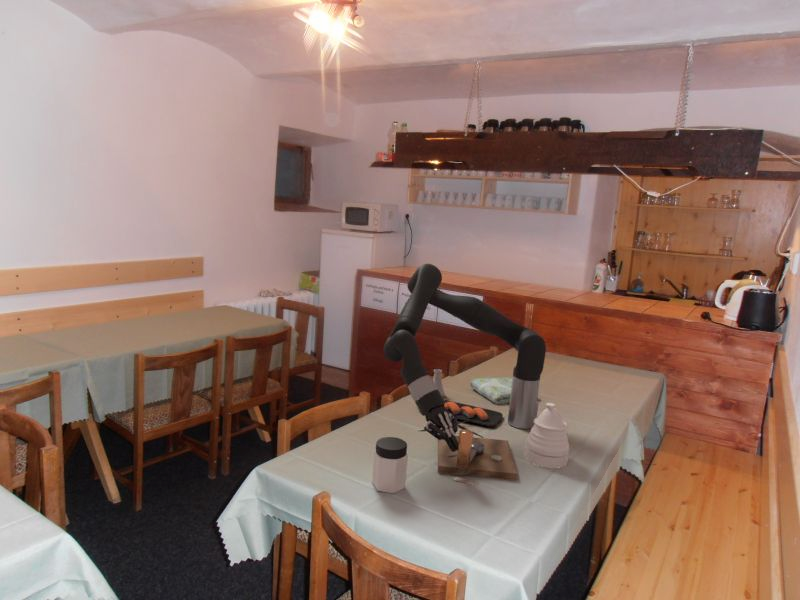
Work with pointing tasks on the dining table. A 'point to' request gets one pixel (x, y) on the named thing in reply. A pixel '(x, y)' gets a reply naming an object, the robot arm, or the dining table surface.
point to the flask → (438, 381)
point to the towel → (494, 388)
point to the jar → (390, 465)
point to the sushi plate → (472, 414)
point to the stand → (480, 461)
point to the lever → (467, 450)
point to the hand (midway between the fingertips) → (456, 450)
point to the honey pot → (548, 440)
